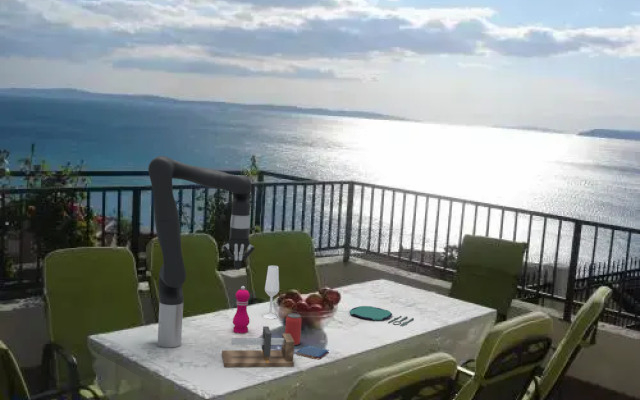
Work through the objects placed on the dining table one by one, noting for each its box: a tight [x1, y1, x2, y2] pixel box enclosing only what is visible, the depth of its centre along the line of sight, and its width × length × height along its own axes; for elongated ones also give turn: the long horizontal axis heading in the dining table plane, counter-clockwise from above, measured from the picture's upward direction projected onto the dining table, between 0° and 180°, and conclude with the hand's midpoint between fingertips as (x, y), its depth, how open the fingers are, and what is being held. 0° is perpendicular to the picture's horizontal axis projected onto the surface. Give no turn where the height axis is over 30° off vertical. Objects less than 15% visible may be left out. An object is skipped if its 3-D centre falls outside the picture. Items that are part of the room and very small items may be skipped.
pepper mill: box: [232, 285, 251, 334], centre depth 295 cm, size 7×7×20 cm
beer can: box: [284, 312, 303, 346], centre depth 284 cm, size 7×7×12 cm
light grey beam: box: [231, 337, 285, 346], centre depth 261 cm, size 20×2×2 cm, turn 102°
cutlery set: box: [349, 305, 415, 327], centre depth 333 cm, size 20×30×2 cm, turn 59°
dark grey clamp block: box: [261, 326, 272, 357], centre depth 262 cm, size 2×9×9 cm, turn 12°
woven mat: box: [295, 345, 330, 361], centre depth 274 cm, size 10×11×2 cm
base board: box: [221, 333, 295, 368], centre depth 261 cm, size 26×14×9 cm, turn 102°
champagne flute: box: [262, 265, 280, 320], centre depth 320 cm, size 7×7×24 cm
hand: (237, 269), depth 271 cm, fingers closed
